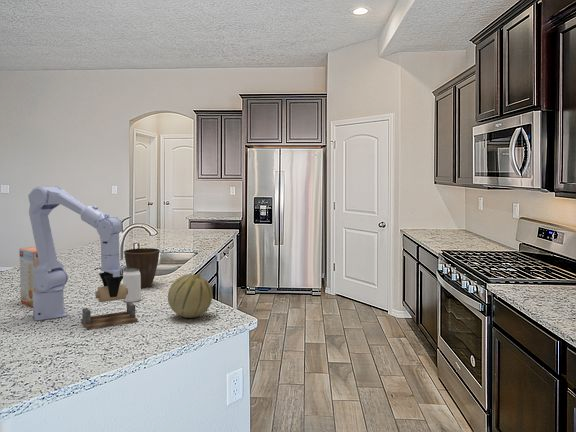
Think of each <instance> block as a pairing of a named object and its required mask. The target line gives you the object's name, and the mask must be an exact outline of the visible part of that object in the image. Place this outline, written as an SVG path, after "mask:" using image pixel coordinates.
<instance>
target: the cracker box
mask: <svg viewBox="0 0 576 432" xmlns="http://www.w3.org/2000/svg"><path fill="white" fill-rule="evenodd" d="M18 254H19V280H20V281H19V282H20V283H19V284H20V286H19V287H20V302H21V303H23V304H24V305H25V304H26V305H28V306H30V307H31V308H33V293H34V292H38V289H37V288H36V287H35V284H34V279H35V272H34V271H35V269H36V268H37V267H38V265H39V259H38V254H37V250H36V246H35V247H34V246H30V247H29V246H28V247H21V248H19V253H18Z"/></svg>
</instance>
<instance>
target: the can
mask: <svg viewBox="0 0 576 432" xmlns="http://www.w3.org/2000/svg"><path fill="white" fill-rule="evenodd" d="M122 276H123V279H122V284H124V285H125V287H126V288H128V294H127V295H126V299H122V300H123V301H124V303H128V302H131V303H137V302H140V301H141V299H142V288H141V275H140V272H139V269H127V268H125V269H123V274H122Z"/></svg>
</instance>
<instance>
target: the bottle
mask: <svg viewBox="0 0 576 432" xmlns="http://www.w3.org/2000/svg"><path fill="white" fill-rule="evenodd" d="M127 294H128V288H126V287H125V285H124V284H123V283H120V286H119V290H118V295H117V297H110V295H109V290H108V286H104V285H103V286H98V287H97V291H95V293H94V295H95V299H98V303H106V302H113V301H121V300H123V299H126V295H127Z"/></svg>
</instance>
